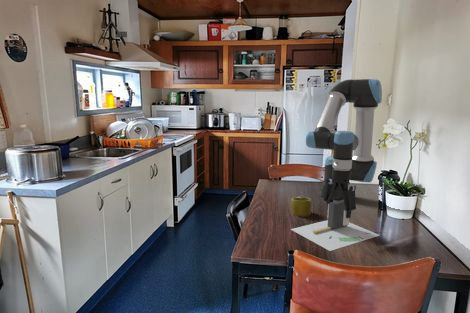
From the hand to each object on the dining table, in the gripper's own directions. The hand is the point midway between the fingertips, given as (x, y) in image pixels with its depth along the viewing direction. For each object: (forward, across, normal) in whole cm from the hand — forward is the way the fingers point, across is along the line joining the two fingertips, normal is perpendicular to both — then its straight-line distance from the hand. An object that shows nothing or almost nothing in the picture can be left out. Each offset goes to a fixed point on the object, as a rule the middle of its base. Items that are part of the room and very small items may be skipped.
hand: (337, 221), depth 138 cm
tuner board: (+4, +3, -5) cm, 7 cm away
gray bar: (+2, 0, -5) cm, 5 cm away
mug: (+4, -22, -1) cm, 22 cm away
